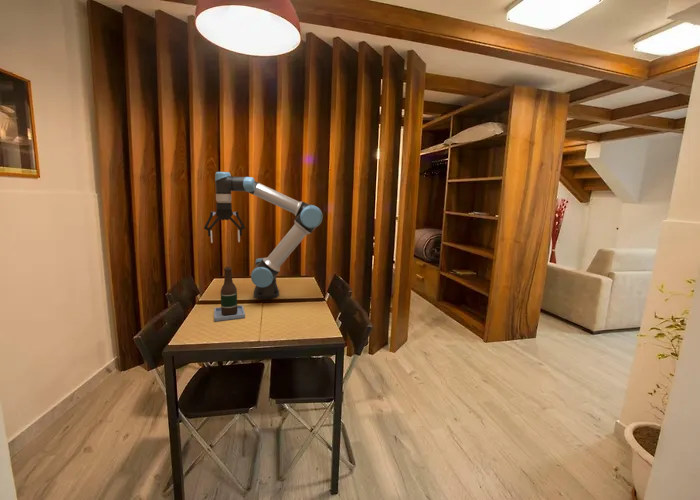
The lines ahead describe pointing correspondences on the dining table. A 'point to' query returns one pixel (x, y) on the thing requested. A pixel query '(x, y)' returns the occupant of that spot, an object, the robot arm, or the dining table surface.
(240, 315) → the tray
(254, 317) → the dining table surface
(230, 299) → the beer bottle
